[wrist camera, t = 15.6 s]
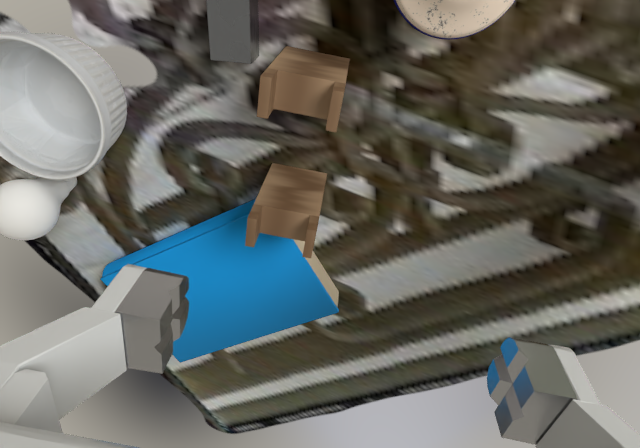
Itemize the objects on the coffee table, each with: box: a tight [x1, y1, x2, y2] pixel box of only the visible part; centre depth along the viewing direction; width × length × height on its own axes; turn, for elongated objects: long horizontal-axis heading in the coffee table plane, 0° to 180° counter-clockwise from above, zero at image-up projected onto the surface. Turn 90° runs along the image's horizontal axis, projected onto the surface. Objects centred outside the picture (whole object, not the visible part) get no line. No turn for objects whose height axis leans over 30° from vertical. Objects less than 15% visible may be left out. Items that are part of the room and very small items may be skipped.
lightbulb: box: [0, 177, 77, 240], centre depth 45 cm, size 6×6×11 cm
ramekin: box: [0, 32, 127, 180], centre depth 41 cm, size 13×13×7 cm
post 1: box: [257, 46, 350, 132], centre depth 36 cm, size 6×3×11 cm, turn 80°
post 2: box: [245, 163, 327, 258], centre depth 42 cm, size 6×3×11 cm, turn 80°
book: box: [101, 199, 339, 362], centre depth 54 cm, size 17×4×25 cm
